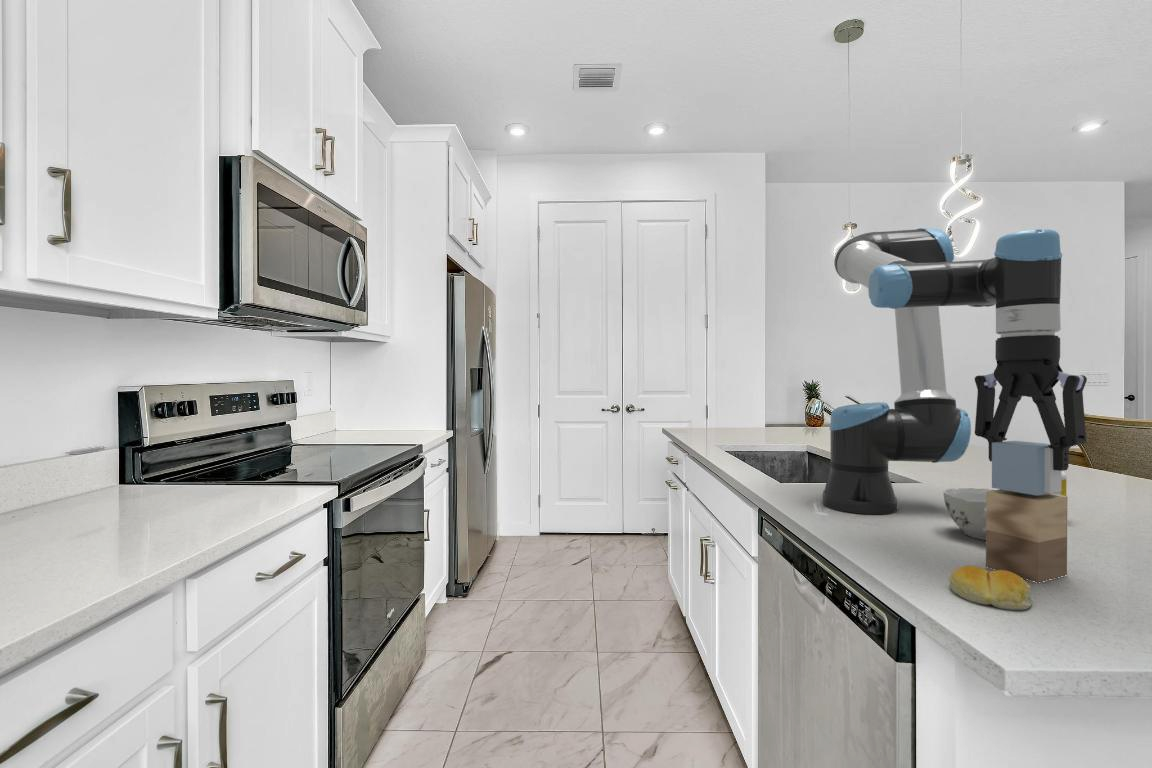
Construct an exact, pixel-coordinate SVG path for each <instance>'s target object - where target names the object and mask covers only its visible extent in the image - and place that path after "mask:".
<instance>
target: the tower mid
mask: <svg viewBox="0 0 1152 768" xmlns="http://www.w3.org/2000/svg"><path fill="white" fill-rule="evenodd" d="M991 490H992V491H986V530H990V531H994V532H998V533H1002V534H1006V535H1010V536H1014V537H1018V538H1022V539H1026V540H1030V541H1034V542H1038V543H1039V542H1044V541H1048V540H1053V539H1058V538H1063V537H1067V538H1068V497H1069V496H1067V495H1066V496H1062V495H1057V494H1045V495H1038V496H1036V495H1031V494H1025V493H1019V492H1013V491H1007V490H1002V489H991Z"/></svg>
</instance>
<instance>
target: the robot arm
mask: <svg viewBox="0 0 1152 768" xmlns="http://www.w3.org/2000/svg"><path fill="white" fill-rule="evenodd" d="M1060 237H1061V236H1060V234H1059V233H1058V231H1056V230H1054V229H1047V228H1041V229H1040V228H1036V229H1027V230H1020V231H1015V232H1011V233H1007V234H1005V235H1002V236H1000V237H998V239H997V241H996V245H995V251H994V257H991V258H989V259H988V258H987V259H976V260H975V259H974V260H972V259H971V260H958V261H957V260H956V261H955V253H954V251H955V250H954V246H953V243H952V241H951V239H950V236H949V235H948V234H947V232H945V231H943V230H942V229H939V228H923V227H922V228H921V227H920V228H917V229H906V230H904V229H903V230H890V231H873V232H866V233H862V234H859V235H856V236H854V237H852V238H851V239H849V240H846V242H844V243H843V244H842V245H841V246H840V247H839V248H838V251H836V254H835V256H834V257H835V258H834V260H833V261H834V264H833V265H834V269H835V272H836V273H837V274H838V276H839V277H840V278H842V279H843V280H844V281H845V282H848V283H851V284H857V285H859V284H860V285H862V286H863V287H866V288H867V289H868V298H869V300H870V304H871V305H872V306H874V307H876V308H880V309H881V308H882V309H883V308H887V309H893V310H894V316H895V329H896V342H897V355H898V369H899V370H898V371H899V381H900V383H899V384H900V395H899V397H898V398H897V399H896V400H894V402H893V404H894V408H890V406H889V404H888V403H887V402H871V403H870V402H865V403H863V402H862V403H854V404H849V405H848V404H847V405H841V406H837V407H836V408H834V409H833V410H832V411H831V414H830V421H829V422H830V424H829V431H830V432H829V433H830V434H829V435H830V470H829V474H828V476H827V480H826V483H825V487H824V490H822V493H821V494H822V495H821V498H822V500H821V502H822V505H823V506H826V507H828V508H830V509H834V510H836V511H842V512H847V513H853V514H863V515H884V514H887V515H888V514H893V513H896V512H897V511H898V498H897V496H896V495H895V491H894V488H893V485H892V481H891V478H890V476H889V462H918V463H919V462H921V463H922V462H923V463H934V464H936V463H950V462H955V461H958V460H960V459H961V458H962V457H963V456H964V454H965V453H966V451H967V449H968V448H969V447H968V446H969V444H970V440H971V434H972V433H971V432H972V423H971V418H970V417H969V414H968V412H967V411H966V410H964V409H962V408H960V407H958V408H957V403H956V402H957V400H956V398H954V397H953V396H952V395H951V394H949V393H948V392H947V384H946V381H947V380H946V373H945V362H944V361H945V360H944V350H943V348H944V347H943V339H942V329H941V316H940V307H955V306H958V307H959V306H968V307H972V308H983V307H993V306H995V333H996V334H997V335H1000V337H998V338H996V340H995V353H994V354H995V361H996V366H995V369H994V370H993V372H992V373H988V374H985V375H984V374H983V375H976V376H975V377H974V383H975V385H976V390H977V395H976V397H977V398H976V408H975V411H976V412H975V421H974V423H975V424H974V435H975V436H976V437H981V438H982V439H985V440H987V442H988V460H989V462H991V463H992V443H995V442H1006V440H1008V437H1006V435H1007V432H1008V430H1009V427H1010V425H1011V422H1012V419H1013V418H1014V417H1013V416H1014V414H1015V410H1016V408H1017V405H1018V403H1019V402H1020V401H1021V400H1022V397H1028V398H1031V399H1032V402H1033V403H1034V404H1035V405H1036V407H1037V410H1038V414H1039V416H1040V418H1041V421H1042V424H1043V426H1044V430H1045V433H1046V435H1047V438H1048V440H1049V444H1051V445H1048V447H1049V448H1044V492H1045V493H1056V492H1061V471H1063V472H1064V471H1068V469H1069V466H1070V465H1069V461H1070V459H1069V455H1070V454H1069V453H1070V451H1069V450H1070V449H1071V448H1072V447H1075V446H1081V445H1084V444H1085V445H1086V443H1087V436H1086V435H1087V431H1086V421H1085V409H1084V408H1085V407H1084V405H1085V404H1084V393H1083V391H1084V389H1085V386H1086V383H1087V381H1088V378H1087V376H1086V375H1081V374H1075V375H1074V374H1072V373H1071V374H1070V373H1067V372H1064V371H1063V369H1062V367H1061V365H1060V360H1061V337H1059V335H1056V333H1058V332H1059V331H1061V329H1062V328H1061V291H1062V290H1061V284H1062V282H1061V280H1062V257H1063V253H1062V251H1061V240H1060ZM1058 382H1060V384H1059V386H1060V387H1061V388H1062V394H1061V395H1062V409H1063V419H1062V416H1061V414H1060V410H1059V409H1058V406H1057V402H1056V401H1057V398H1056V397H1057V396H1056V394H1055V392H1054V389H1053V388H1054V387H1055V386H1056V384H1058ZM998 384H999V385H1000V386H1001V391H1000V393H999V395H998V400H999V402H998V404H997V407H996V410H995V401H996V400H995V399H996V388H995V387H996V386H997V385H998ZM994 412H995V413H994ZM1063 421H1064V422H1063Z"/></svg>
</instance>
